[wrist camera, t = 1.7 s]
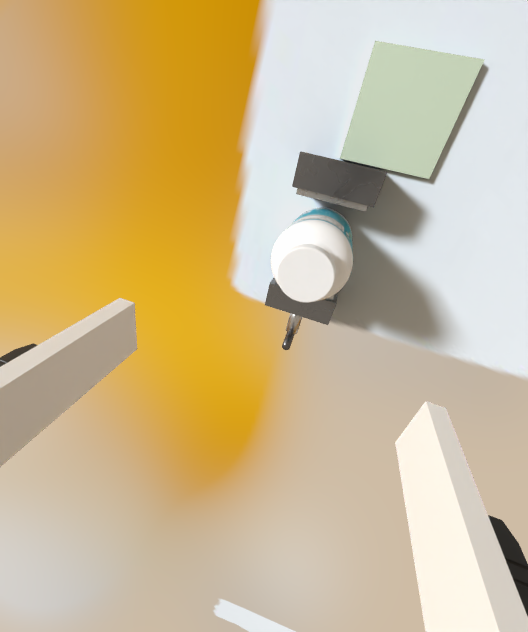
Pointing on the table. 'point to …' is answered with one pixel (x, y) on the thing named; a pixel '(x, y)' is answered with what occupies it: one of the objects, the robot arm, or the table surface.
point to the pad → (408, 107)
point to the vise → (335, 187)
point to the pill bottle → (313, 255)
